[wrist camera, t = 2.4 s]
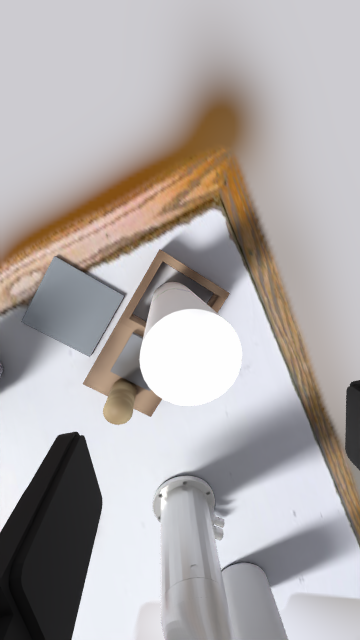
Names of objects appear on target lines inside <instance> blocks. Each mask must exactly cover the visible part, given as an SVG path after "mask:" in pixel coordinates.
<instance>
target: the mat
mask: <svg viewBox="0 0 360 640" xmlns="http://www.w3.org/2000/svg"><path fill="white" fill-rule="evenodd" d="M123 298H124V295H122V294H121V293H119V292H117V291H115V290H114V289H112V288H110V287H108V286H107V285H105V284H103V283H101V282H100V281H98V280H96V279H94V278H93V277H91V276H89V275H87V274H86V273H84V272H82V271H80V270H79V269H77V268H75V267H73V266H72V265H70V264H68V263H66V262H65V261H63V260H61V259H59V258H58V257H56V256H54V258H53V260H52V262H51V264H50V266H49V268H48V270H47V272H46V274H45V276H44V278H43V280H42V282H41V284H40V286H39V288H38V290H37V292H36V294H35V296H34V298H33V300H32V302H31V304H30V306H29V308H28V310H27V312H26V314H25V316H24V318H23V320H22V321H21V322H22V323H24V324H26V325H28V326H30V327H32V328H34V329H36V330H38V331H40V332H42V333H44V334H46V335H48V336H50V337H52V338H54V339H56V340H58V341H60V342H62V343H64V344H65V345H67V346H69V347H71V348H73V349H75V350H77V351H79V352H81V353H83V354H85V355H87V356H89V357H90V356H91V354H92V352H93V351H94V349H95V347H96V345H97V344H98V342H99V340H100V338H101V337H102V335H103V333H104V331H105V330H106V328H107V326H108V324H109V322H110V321H111V319H112V317H113V315H114V314H115V312H116V310H117V308H118V307H119V305H120V303H121V301H122V300H123Z"/></svg>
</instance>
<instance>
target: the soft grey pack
mask: <svg viewBox="0 0 360 640" xmlns="http://www.w3.org/2000/svg"><path fill="white" fill-rule="evenodd" d="M2 372H3V367H2V365H1V363H0V378H1V375H2Z"/></svg>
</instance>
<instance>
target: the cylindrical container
mask: <svg viewBox="0 0 360 640" xmlns="http://www.w3.org/2000/svg"><path fill="white" fill-rule="evenodd" d="M139 360H140V369H141V372H142V375H143V378H144V380H145V382H146V383H147V385H148V387H149V388H150V389H151V390H152V391H153V392H154V393H155V394H156V395H158V396H159V397H160V398H162V399H163V400H165V401H168V402H170V403H173V404H177V405H181V406H195V405H201V404H205V403H208V402H210V401H212V400H214V399H216V398H218V397H219V396H221V395H222V394H223V393H225V392H226V391H227V390H228V389H229V388H230V387H231V385H232V384H233V383H234V381H235V379H236V378H237V376H238V373H239V371H240V368H241V363H242V348H241V344H240V340H239V338H238V336H237V334H236V332H235V330H234V329H233V328H232V326H231V325H230V324H229V323H228V322H227V321H226V320H224V319H223V318H222V317H221V316H220V315H219V314H218V313H216V312H215V311H214V310H213V309H212V308H211V307H210V306H208V305H207V304H206V303H205V302H204V301H202V300H201V299H200V298H199V297H198V296H197V295H196V294H194V293H193V292H192V291H191V290H190V289H189V288H187V287H186V286H185V285H183V284H181V283H178V282H168V283H165V284H163V285H161V286H160V287H159V288H158V289H157V290H156V291H155V293H154V295H153V298H152V301H151V306H150V310H149V315H148V319H147V323H146V328H145V332H144V337H143V341H142V345H141V350H140V359H139Z"/></svg>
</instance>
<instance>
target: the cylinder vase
mask: <svg viewBox="0 0 360 640" xmlns="http://www.w3.org/2000/svg"><path fill="white" fill-rule="evenodd" d="M222 577H223V582H224V587H225V592H226V597H227V602H228V607H229V612H230V617H231V622H232V626H233V631H234V635H235V639H236V640H288V638H287V635H286V632H285V629H284V626H283V623H282V620H281V617H280V614H279V611H278V608H277V605H276V603H275V600H274V597H273V594H272V591H271V588H270V585H269V582H268V579H267V576H266V574H265V572H264V571H263V570H262V569H261V568H260V567H258V566H257V565H254V564H251V563H237V564H234V565H231V566H229V567H227V568H226V569H224V570H223V571H222Z"/></svg>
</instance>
